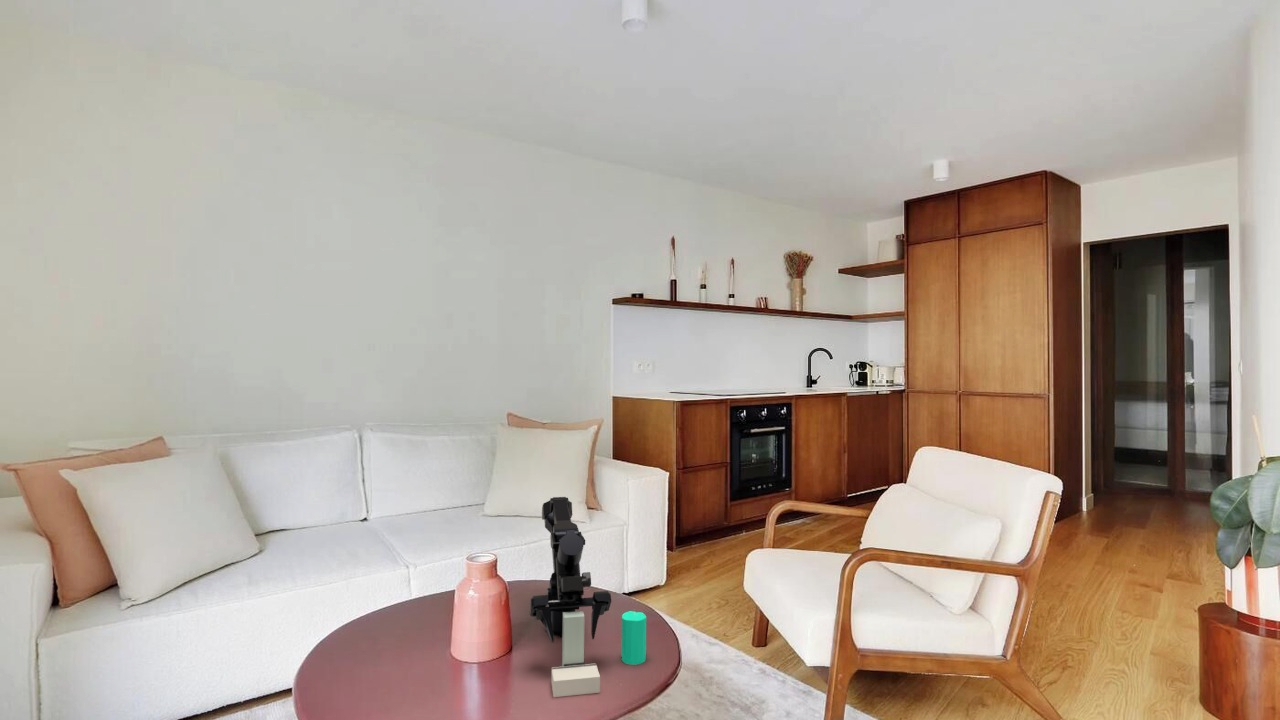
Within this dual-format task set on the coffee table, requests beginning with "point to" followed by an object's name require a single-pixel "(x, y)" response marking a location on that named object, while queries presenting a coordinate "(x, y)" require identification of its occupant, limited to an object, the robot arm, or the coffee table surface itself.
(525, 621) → the coffee table surface
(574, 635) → the pale green upright box
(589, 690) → the block
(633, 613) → the candle
